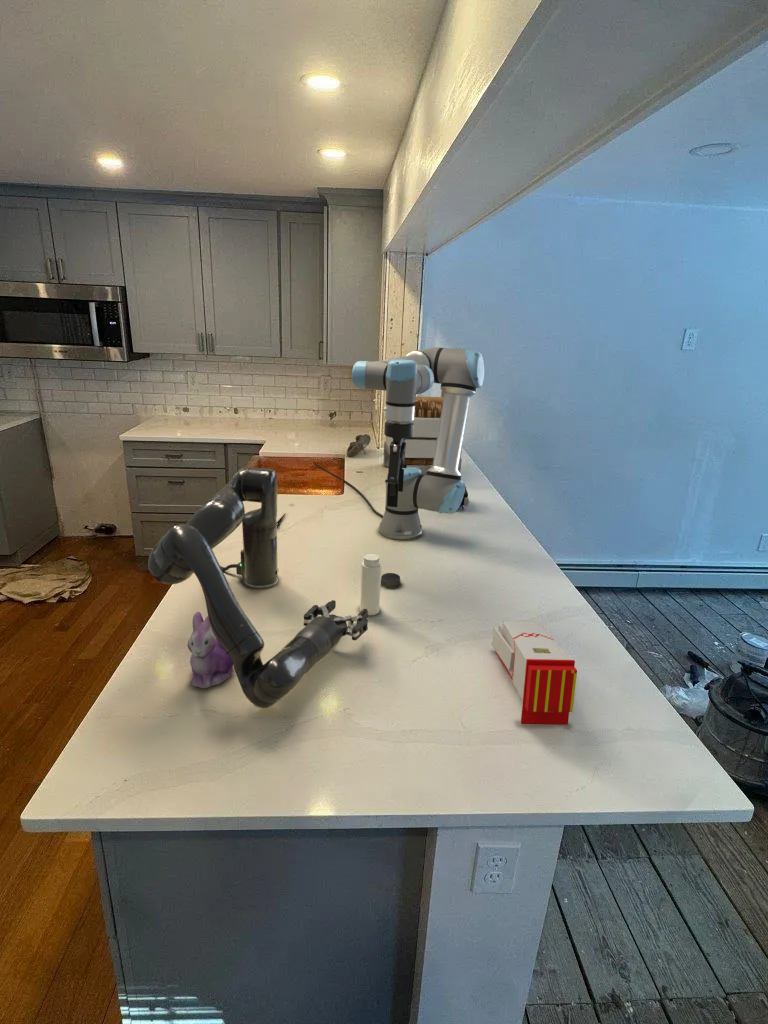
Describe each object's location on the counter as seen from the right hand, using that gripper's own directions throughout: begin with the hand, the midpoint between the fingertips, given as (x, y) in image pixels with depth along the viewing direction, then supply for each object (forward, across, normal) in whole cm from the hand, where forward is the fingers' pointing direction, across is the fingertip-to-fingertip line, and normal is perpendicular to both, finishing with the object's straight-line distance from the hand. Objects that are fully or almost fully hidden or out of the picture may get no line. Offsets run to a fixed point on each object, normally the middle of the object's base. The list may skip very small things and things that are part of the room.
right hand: (395, 498), depth 155 cm
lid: (+24, 0, 0) cm, 24 cm away
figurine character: (+26, -75, +18) cm, 81 cm away
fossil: (+26, -148, -37) cm, 155 cm away
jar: (+26, +17, -4) cm, 31 cm away
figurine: (+26, +51, -31) cm, 65 cm away
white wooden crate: (+26, -119, -1) cm, 122 cm away
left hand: (+19, +28, -7) cm, 34 cm away
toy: (+26, +40, +34) cm, 59 cm away
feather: (+26, -44, -46) cm, 69 cm away
